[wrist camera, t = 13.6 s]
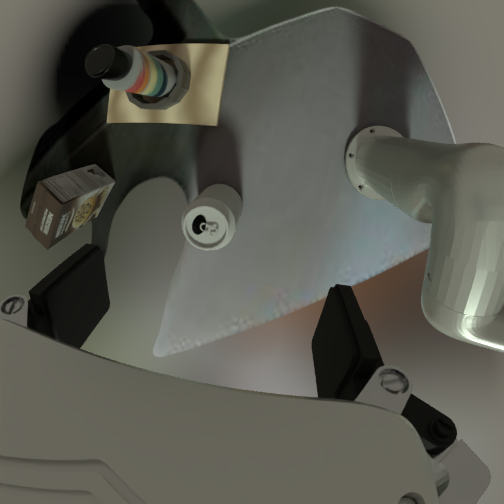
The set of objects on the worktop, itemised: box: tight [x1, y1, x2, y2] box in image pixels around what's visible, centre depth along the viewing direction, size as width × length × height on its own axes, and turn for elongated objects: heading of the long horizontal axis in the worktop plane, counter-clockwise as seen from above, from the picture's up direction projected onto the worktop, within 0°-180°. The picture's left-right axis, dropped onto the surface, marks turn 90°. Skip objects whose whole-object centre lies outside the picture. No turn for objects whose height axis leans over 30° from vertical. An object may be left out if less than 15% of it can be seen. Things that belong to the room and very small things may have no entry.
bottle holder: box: [107, 44, 230, 126], centre depth 36 cm, size 20×14×5 cm
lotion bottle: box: [85, 44, 178, 98], centre depth 28 cm, size 6×6×20 cm
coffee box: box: [25, 164, 115, 250], centre depth 39 cm, size 9×6×16 cm
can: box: [181, 184, 243, 250], centre depth 41 cm, size 8×8×12 cm
